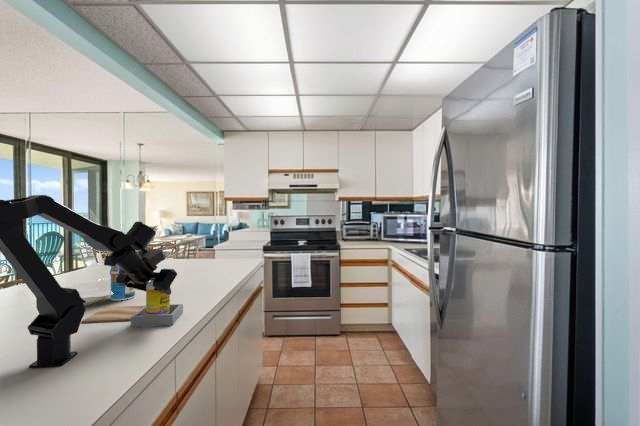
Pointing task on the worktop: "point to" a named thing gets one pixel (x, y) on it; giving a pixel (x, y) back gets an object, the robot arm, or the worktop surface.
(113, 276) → the beverage bottle
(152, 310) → the supplement bottle
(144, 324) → the bin
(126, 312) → the tan cardboard sheet
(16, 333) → the worktop surface
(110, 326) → the worktop surface
